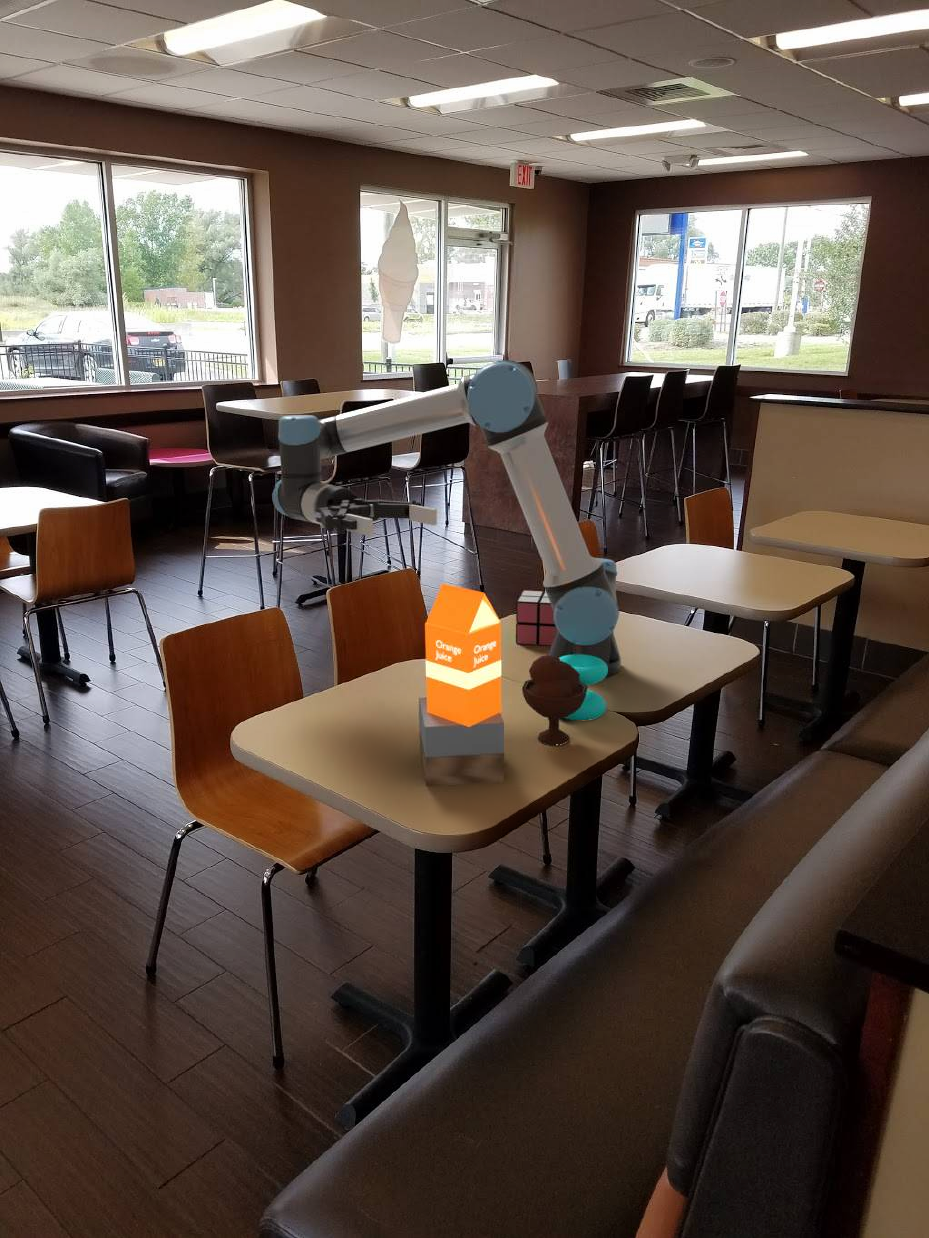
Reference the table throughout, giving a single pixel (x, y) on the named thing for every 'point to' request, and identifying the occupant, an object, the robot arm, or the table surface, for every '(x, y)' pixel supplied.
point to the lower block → (462, 768)
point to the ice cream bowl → (554, 694)
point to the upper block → (459, 735)
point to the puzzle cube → (534, 619)
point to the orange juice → (463, 656)
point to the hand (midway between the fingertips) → (404, 522)
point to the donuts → (590, 674)
